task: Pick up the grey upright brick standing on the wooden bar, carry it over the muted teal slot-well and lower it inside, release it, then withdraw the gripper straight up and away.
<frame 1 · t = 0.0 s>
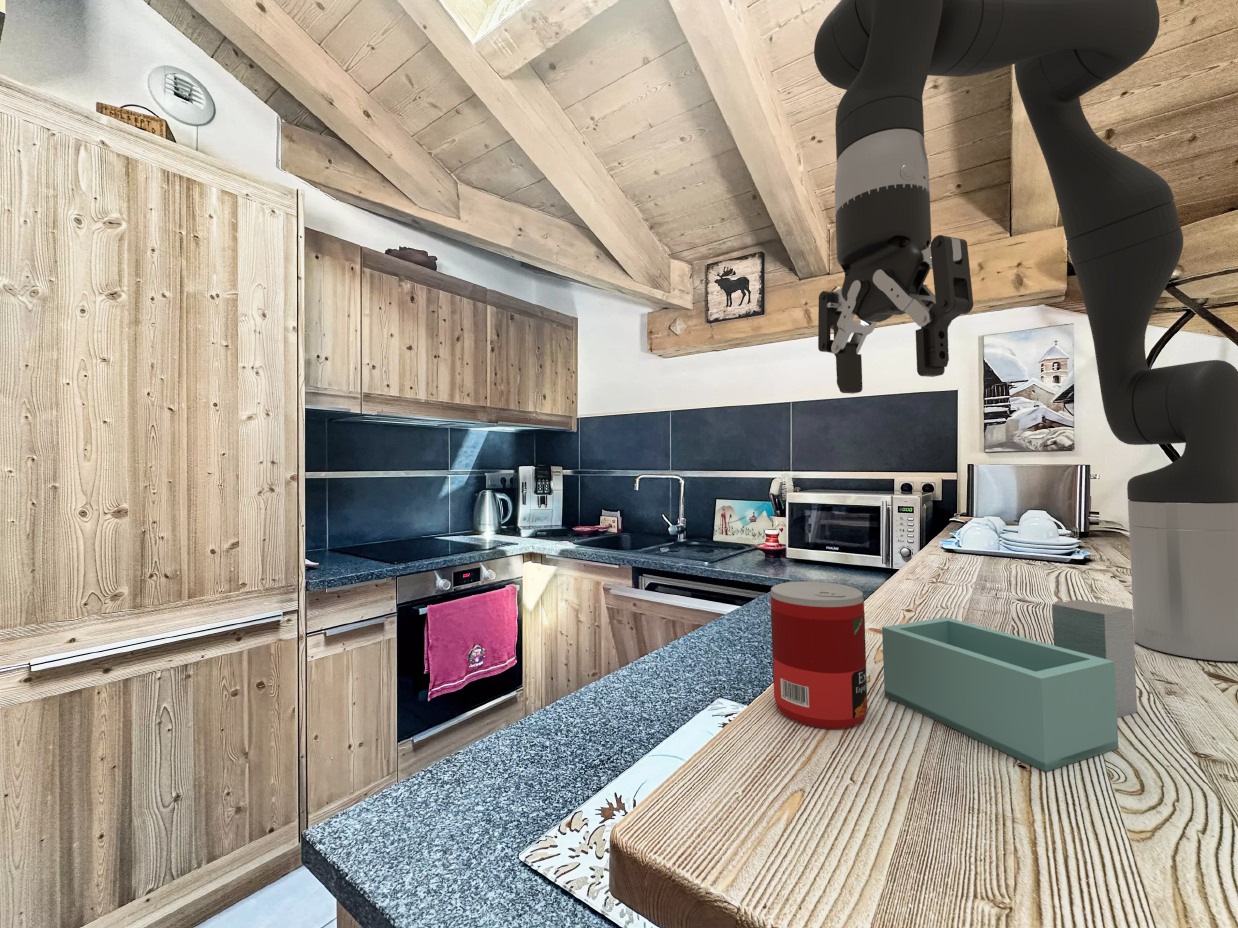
hand: (887, 385, 46), 29 cm above the table, fingers open, 8 cm apart
canned food: (819, 712, 48), on the table
well: (988, 718, 45), on the table
grey upright brick: (1095, 706, 47), on the table
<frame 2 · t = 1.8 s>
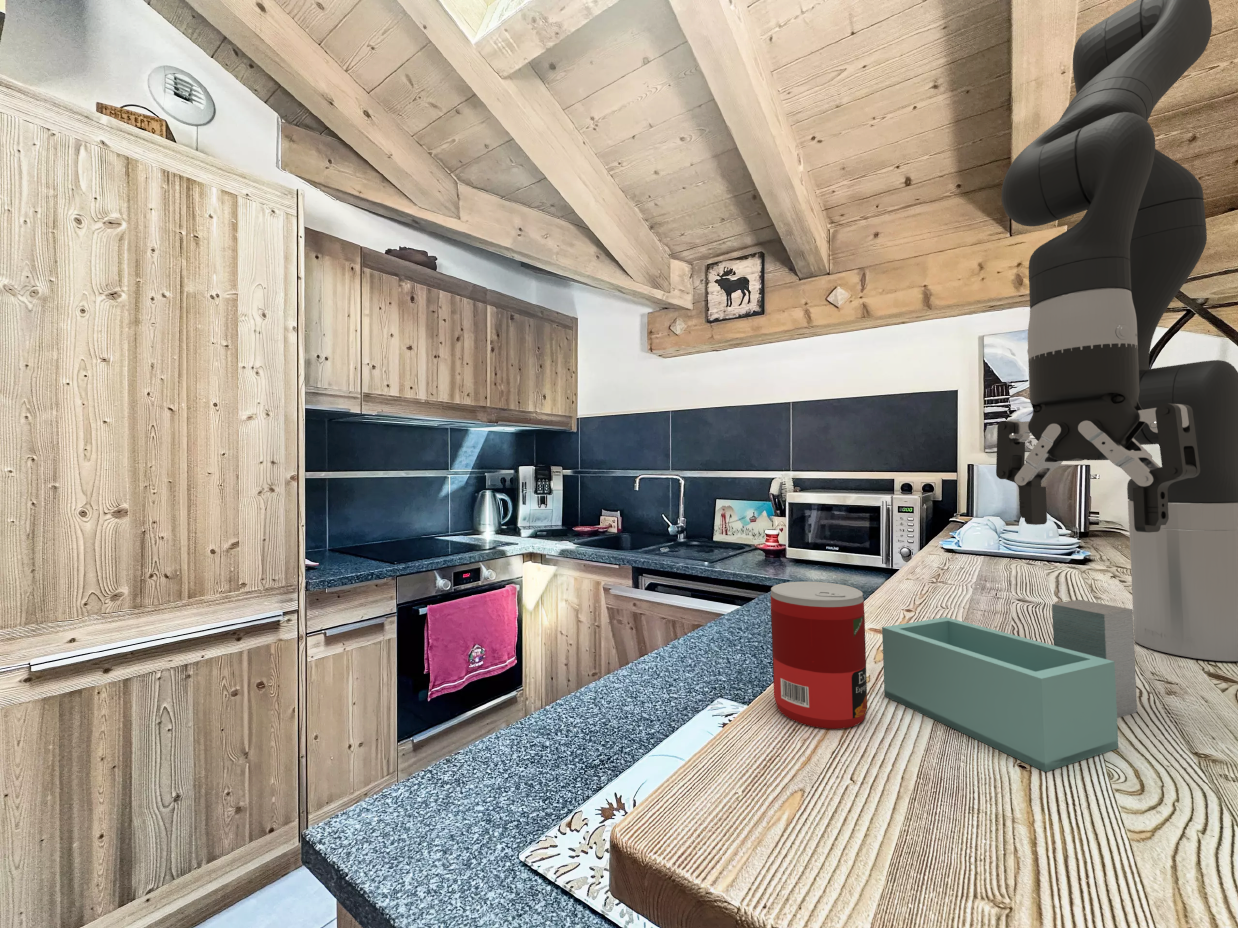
hand: (1086, 527, 48), 16 cm above the table, fingers open, 8 cm apart
nothing on the table moved.
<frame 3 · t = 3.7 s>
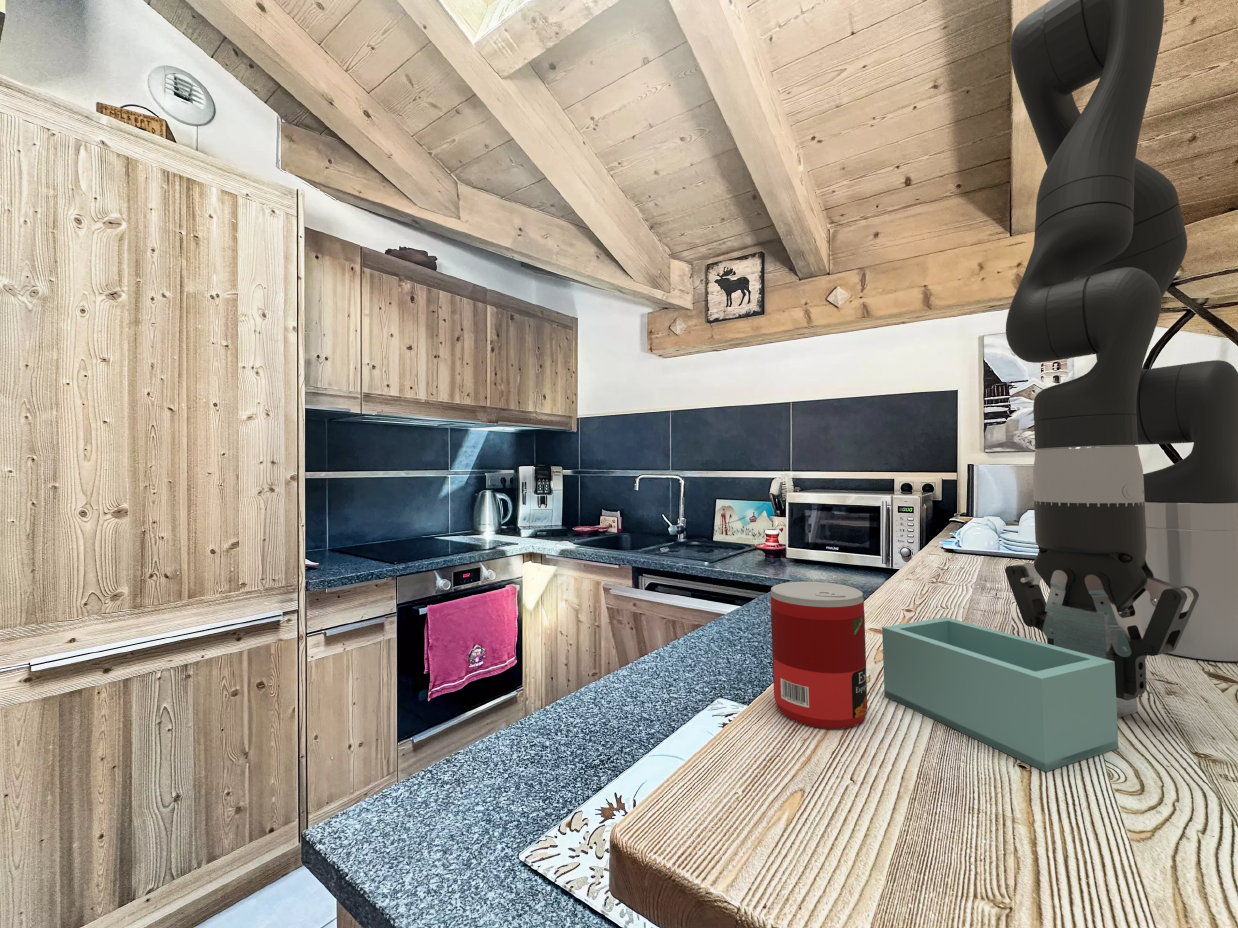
hand: (1094, 686, 47), 2 cm above the table, fingers closed on grey upright brick, 4 cm apart
grey upright brick: (1095, 706, 47), on the table, touching gripper
everything else where it was.
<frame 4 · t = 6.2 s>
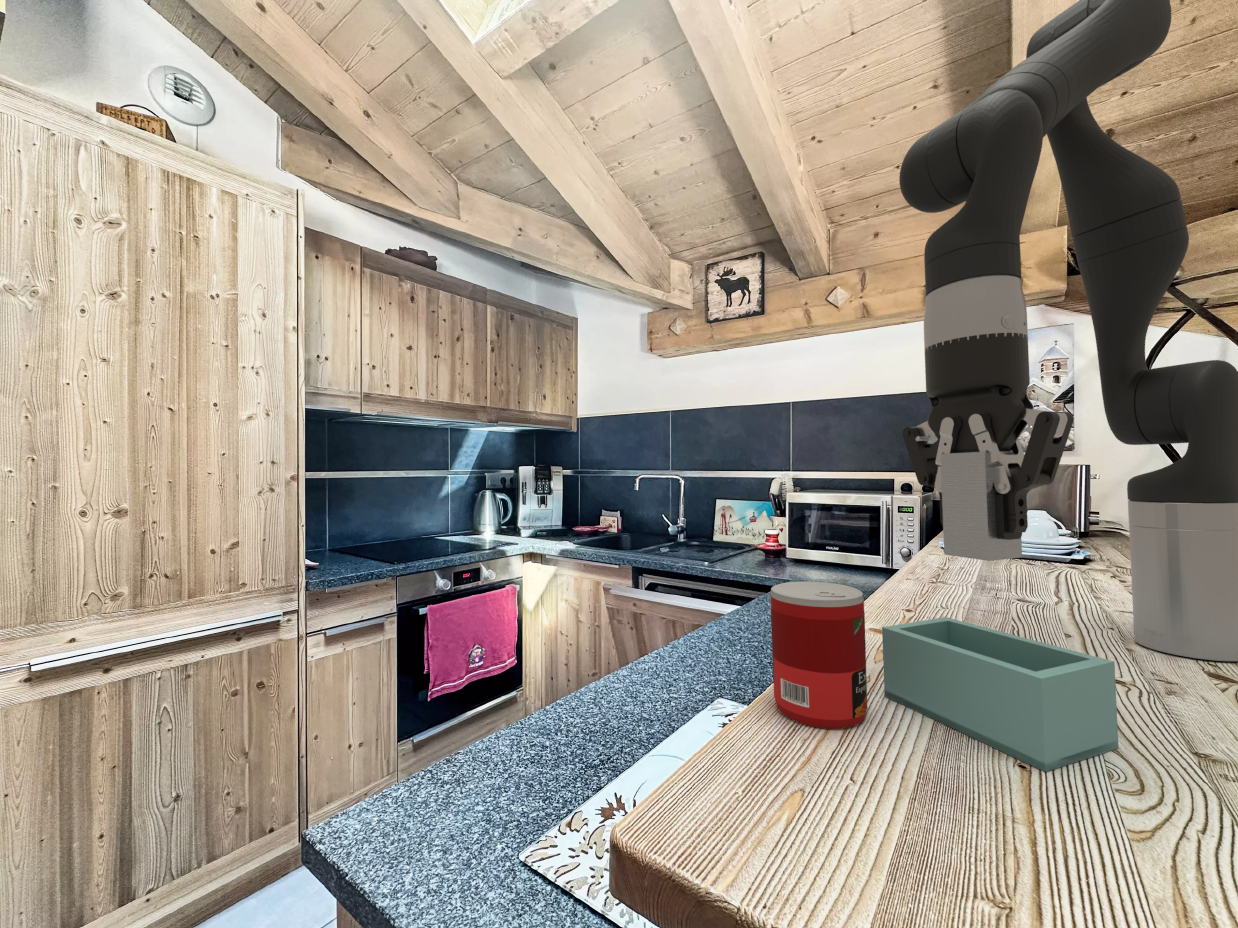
hand: (981, 535, 46), 16 cm above the table, fingers closed on grey upright brick, 4 cm apart
grey upright brick: (982, 555, 46), point 14 cm above the table, touching gripper
everything else where it was.
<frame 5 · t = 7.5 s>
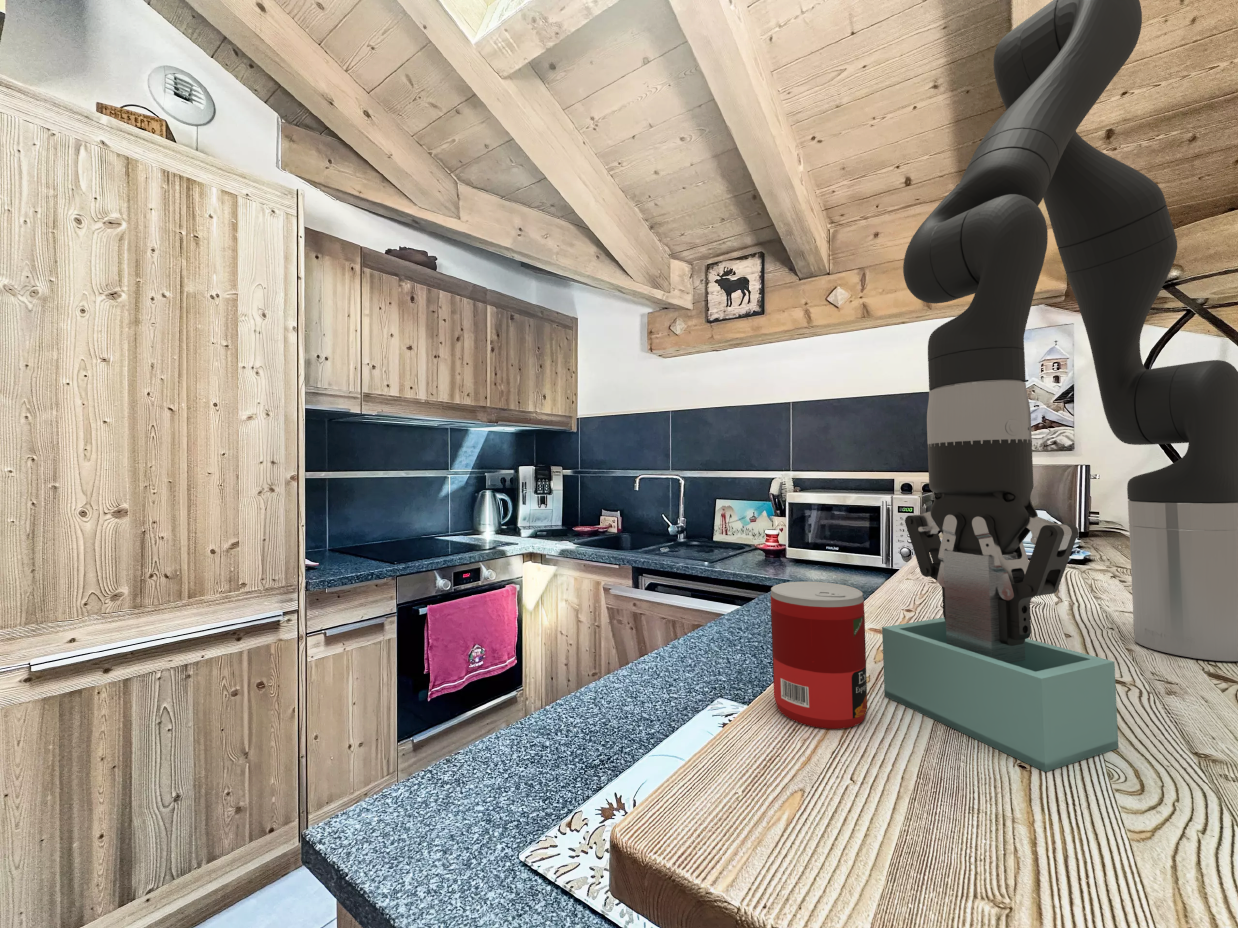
hand: (984, 634, 45), 7 cm above the table, fingers closed on grey upright brick, 4 cm apart
grey upright brick: (985, 655, 45), point 5 cm above the table, touching gripper
everything else where it was.
when the fingers open (4 cm above the table, at t = 8.6 s): grey upright brick drops 1 cm, resting on well.
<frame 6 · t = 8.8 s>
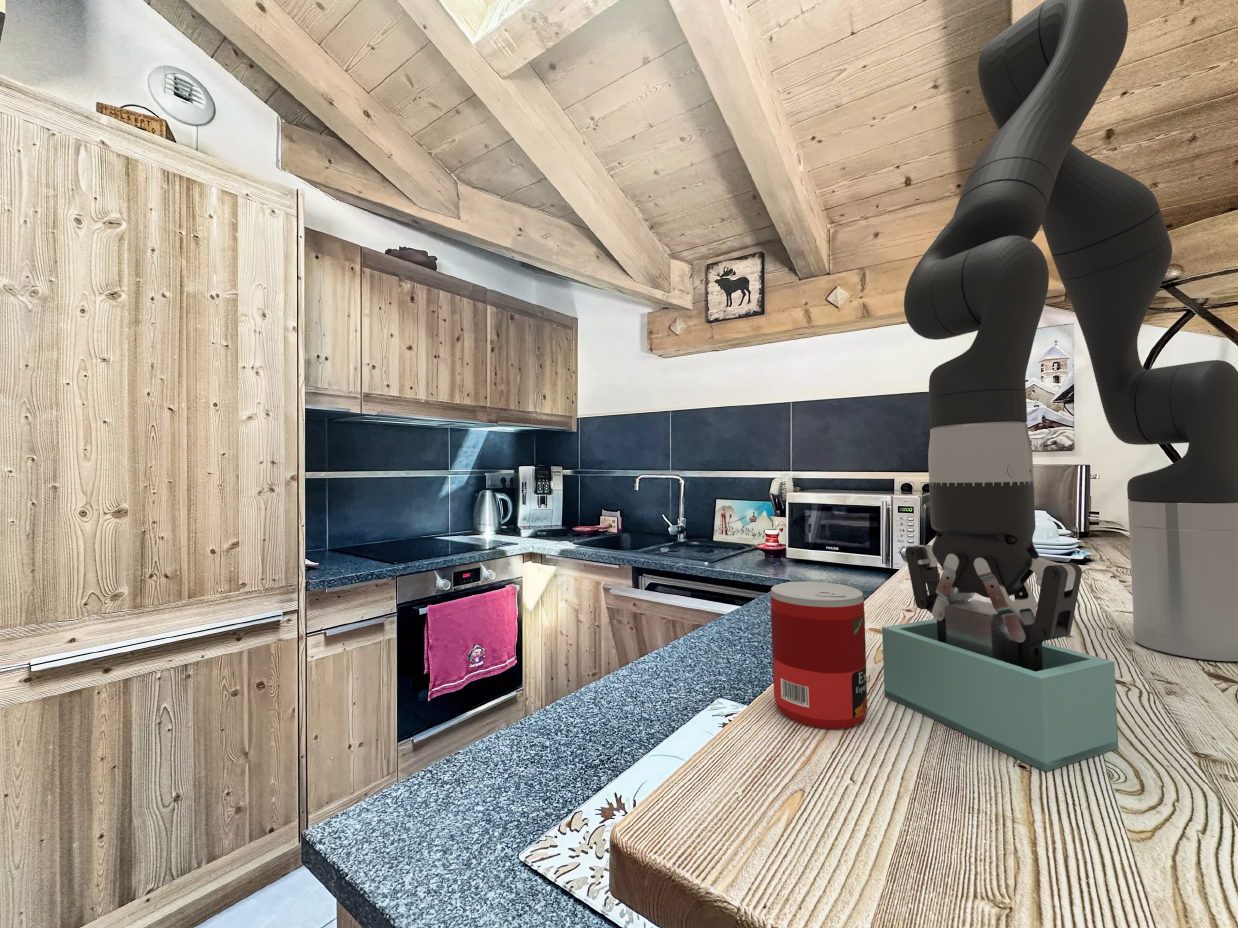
hand: (986, 671, 45), 4 cm above the table, fingers open, 5 cm apart
grey upright brick: (989, 711, 45), point 1 cm above the table, touching well
everything else where it was.
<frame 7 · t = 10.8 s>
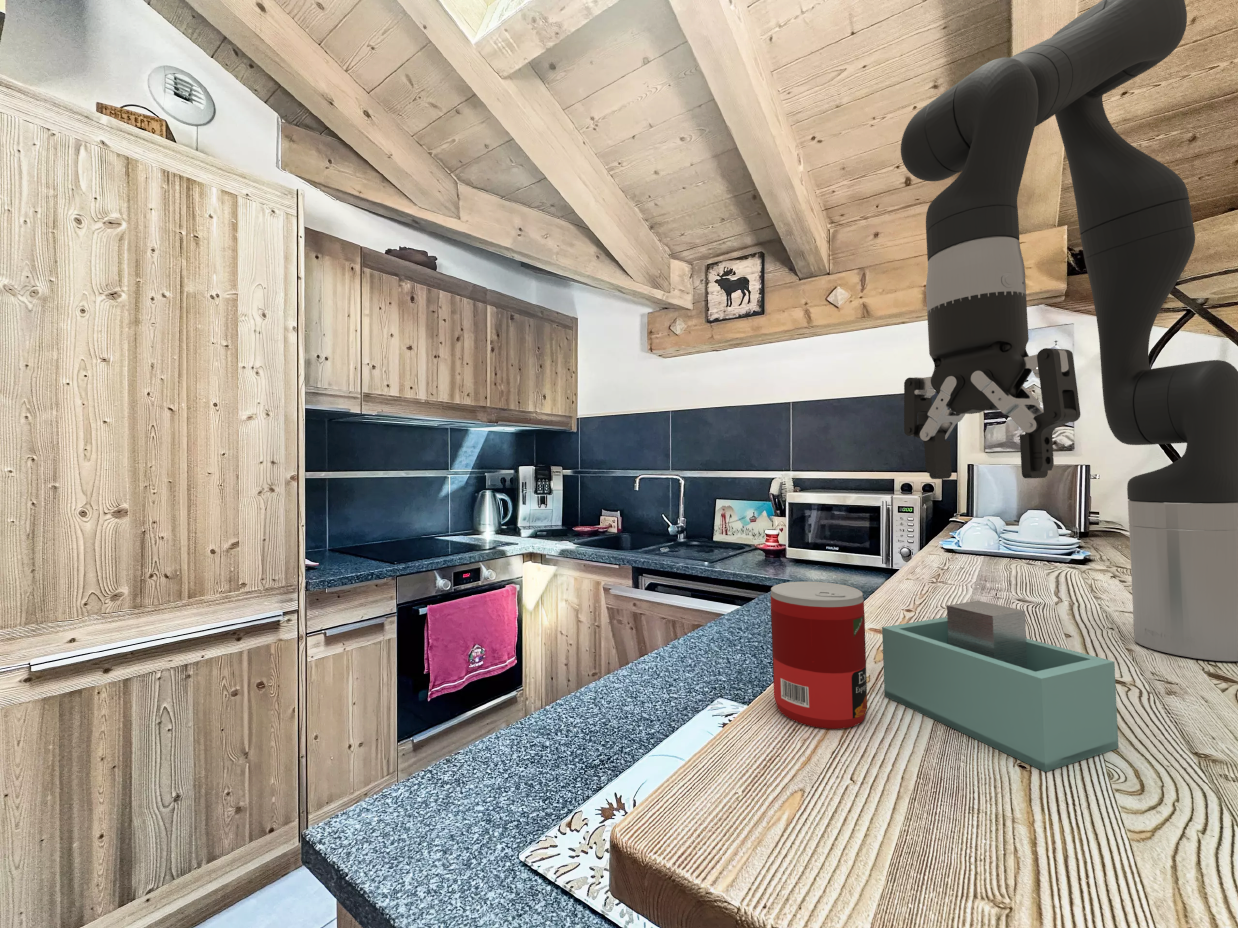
hand: (983, 478, 48), 21 cm above the table, fingers open, 8 cm apart
nothing on the table moved.
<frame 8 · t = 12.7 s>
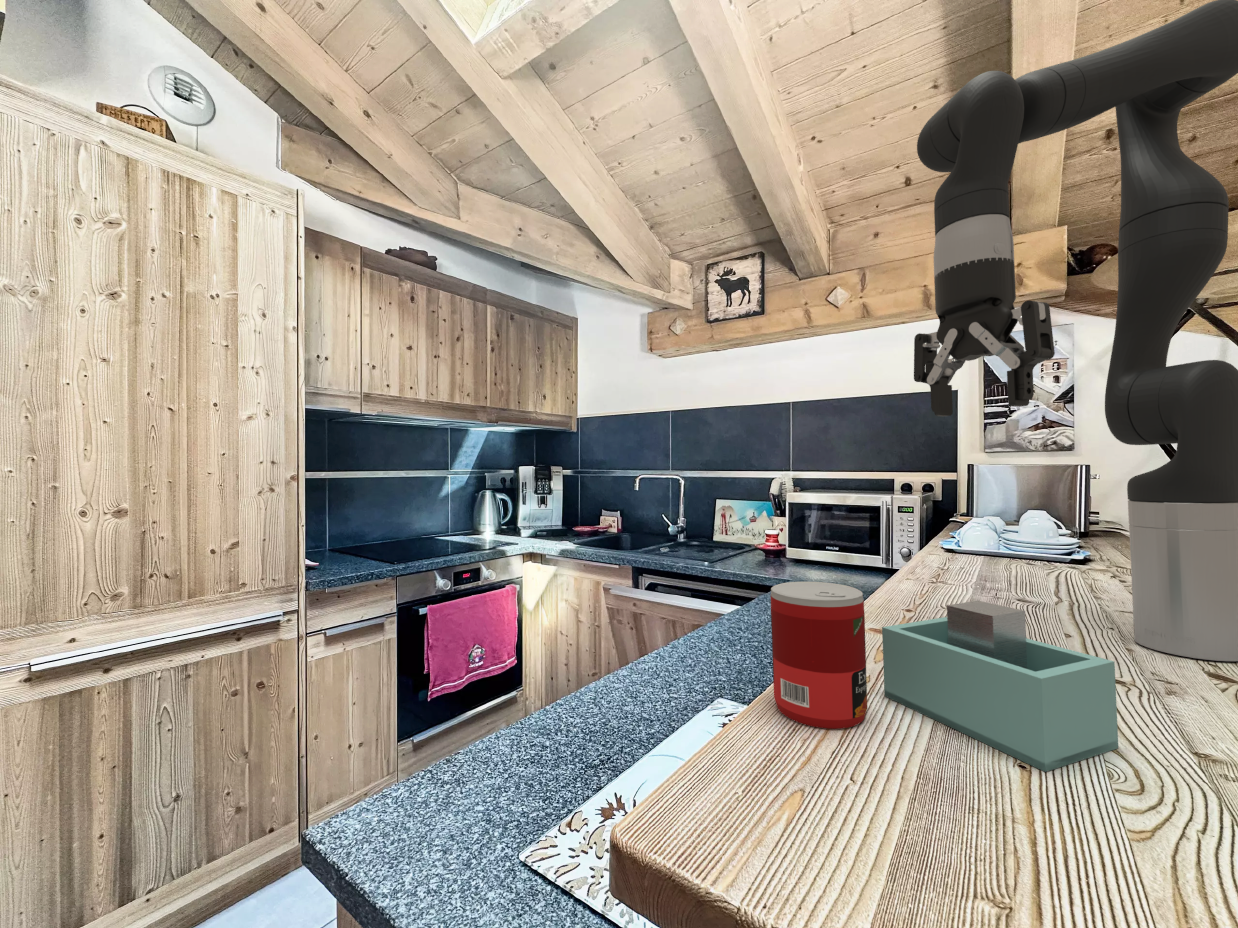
hand: (978, 411, 59), 28 cm above the table, fingers open, 8 cm apart
nothing on the table moved.
at the end: grey upright brick inside the target area on the well (0.1 cm from its centre), point 0.6 cm above the well's base; grey upright brick tilted 0°; the gripper is holding nothing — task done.
